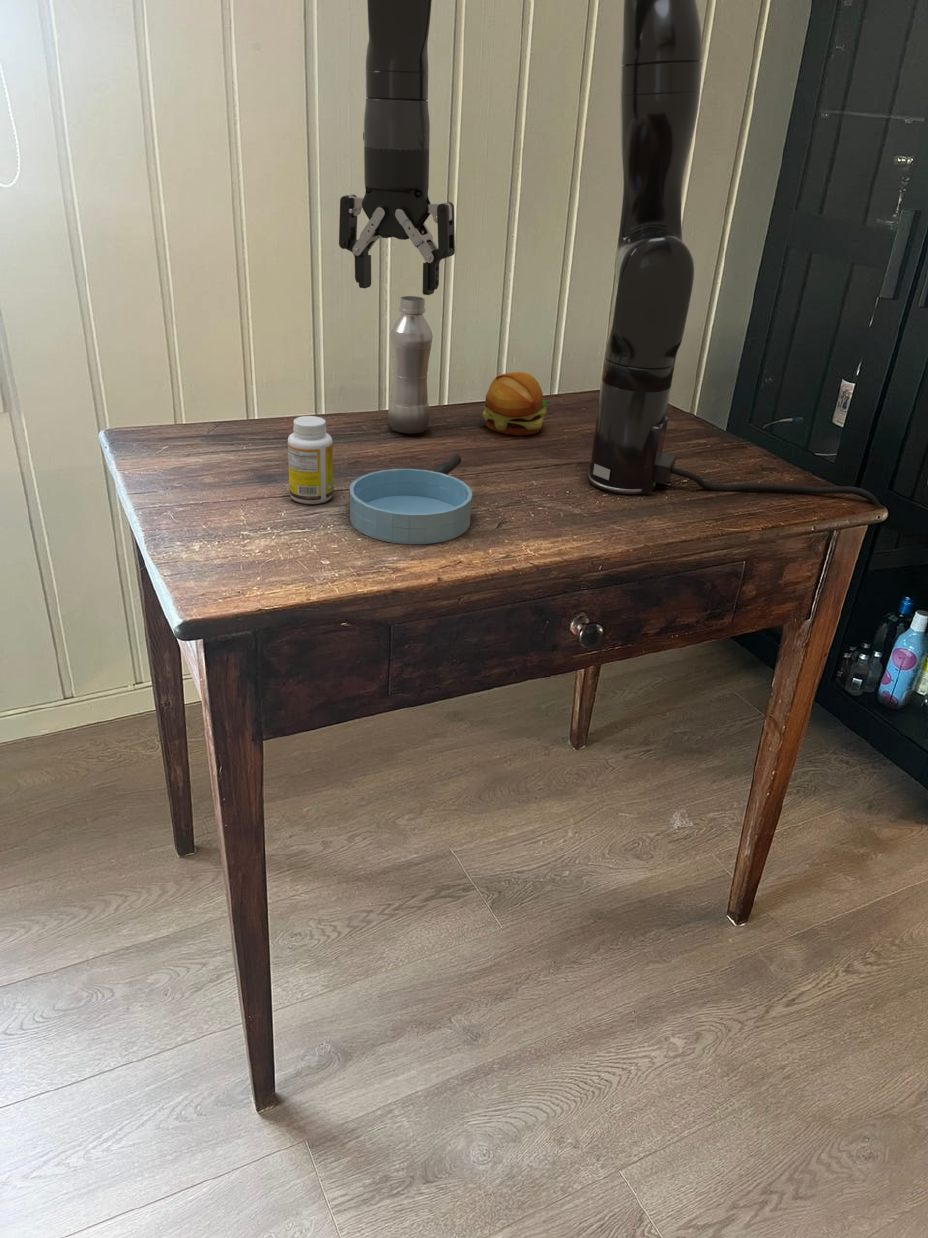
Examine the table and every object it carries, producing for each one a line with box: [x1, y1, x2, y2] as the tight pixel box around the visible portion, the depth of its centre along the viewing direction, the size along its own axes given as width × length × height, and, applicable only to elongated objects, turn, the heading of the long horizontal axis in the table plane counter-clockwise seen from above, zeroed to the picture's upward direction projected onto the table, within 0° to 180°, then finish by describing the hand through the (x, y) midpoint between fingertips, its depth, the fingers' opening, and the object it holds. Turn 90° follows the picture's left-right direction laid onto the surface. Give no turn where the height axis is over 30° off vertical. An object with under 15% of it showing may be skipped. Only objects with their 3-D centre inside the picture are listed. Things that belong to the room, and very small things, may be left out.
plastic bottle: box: [387, 295, 434, 435], centre depth 143 cm, size 6×7×20 cm
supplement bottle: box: [287, 415, 334, 505], centre depth 120 cm, size 6×6×10 cm
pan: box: [348, 468, 473, 545], centre depth 117 cm, size 15×15×4 cm
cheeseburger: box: [482, 371, 550, 436], centre depth 150 cm, size 10×11×10 cm
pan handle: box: [432, 453, 462, 475], centre depth 126 cm, size 9×2×2 cm, turn 159°
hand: (396, 290), depth 117 cm, fingers open, 8 cm apart
